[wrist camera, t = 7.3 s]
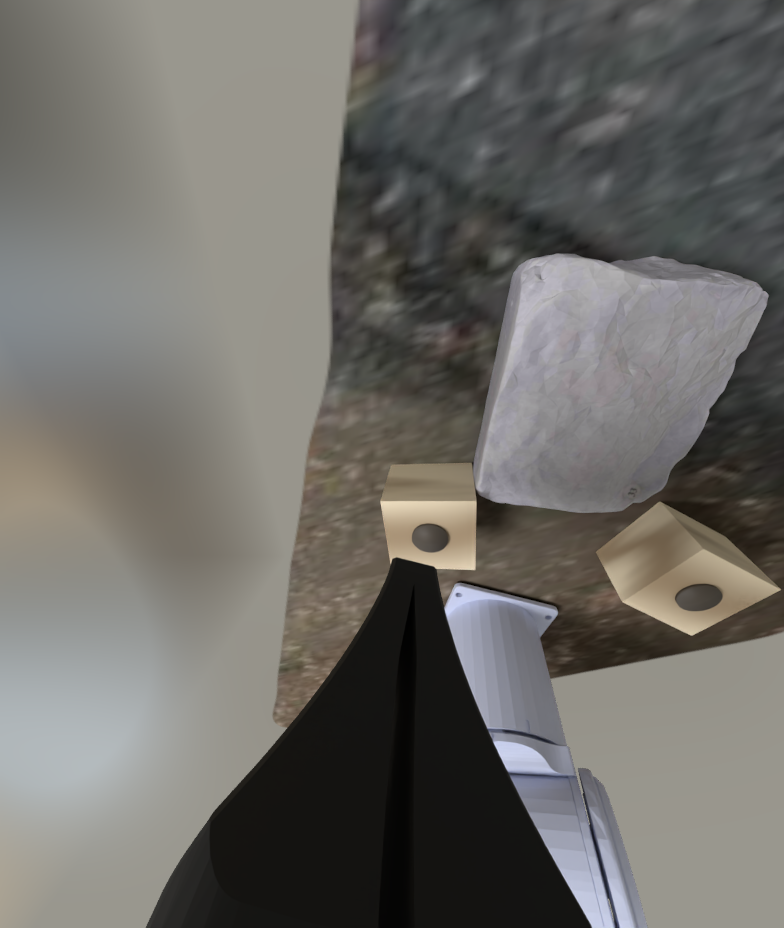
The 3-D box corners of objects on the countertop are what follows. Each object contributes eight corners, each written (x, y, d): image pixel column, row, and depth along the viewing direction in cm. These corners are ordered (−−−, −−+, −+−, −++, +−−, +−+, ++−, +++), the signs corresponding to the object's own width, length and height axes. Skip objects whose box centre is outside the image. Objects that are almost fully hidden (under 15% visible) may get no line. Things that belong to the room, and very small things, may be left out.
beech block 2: (654, 580, 22) (693, 638, 19) (595, 550, 22) (623, 605, 18) (723, 535, 20) (784, 592, 16) (658, 499, 19) (706, 551, 16)
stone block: (710, 257, 15) (495, 250, 14) (837, 259, 11) (543, 249, 10) (608, 471, 21) (457, 473, 21) (663, 523, 17) (478, 526, 17)
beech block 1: (471, 524, 22) (475, 572, 19) (399, 523, 23) (390, 569, 20) (471, 461, 20) (476, 503, 16) (391, 463, 21) (379, 503, 17)
